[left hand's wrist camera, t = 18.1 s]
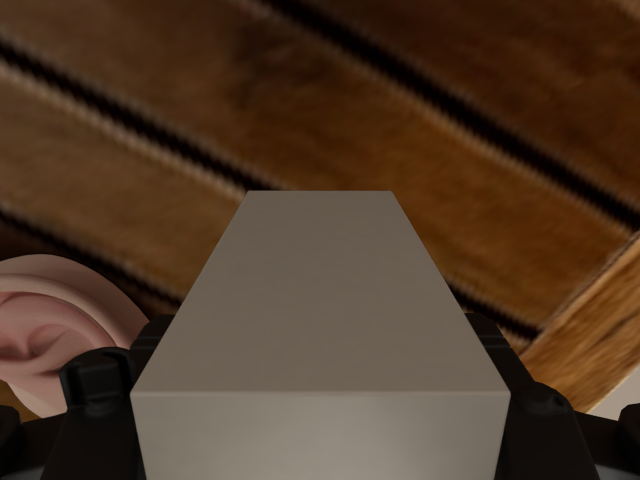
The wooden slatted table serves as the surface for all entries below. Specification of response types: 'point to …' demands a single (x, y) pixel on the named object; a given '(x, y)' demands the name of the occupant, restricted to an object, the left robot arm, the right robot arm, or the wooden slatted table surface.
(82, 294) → the anatomical model
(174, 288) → the wooden slatted table surface
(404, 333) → the block
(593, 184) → the wooden slatted table surface
